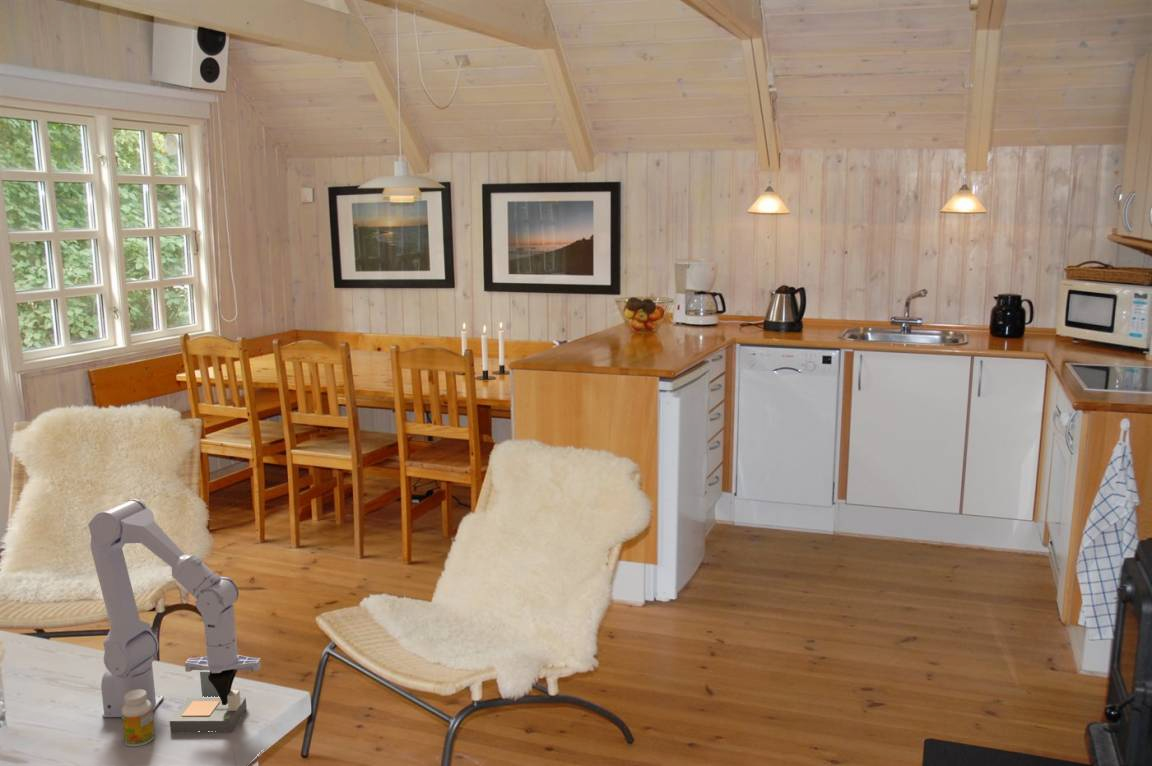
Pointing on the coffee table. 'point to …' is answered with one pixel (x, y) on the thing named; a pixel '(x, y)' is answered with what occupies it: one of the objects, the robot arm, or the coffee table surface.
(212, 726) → the switch box
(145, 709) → the supplement bottle
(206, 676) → the block
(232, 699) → the lever
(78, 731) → the coffee table surface
